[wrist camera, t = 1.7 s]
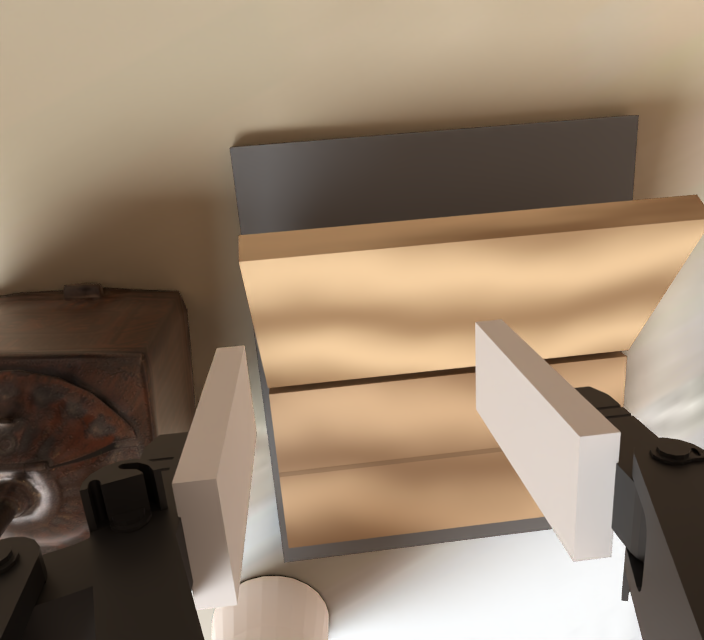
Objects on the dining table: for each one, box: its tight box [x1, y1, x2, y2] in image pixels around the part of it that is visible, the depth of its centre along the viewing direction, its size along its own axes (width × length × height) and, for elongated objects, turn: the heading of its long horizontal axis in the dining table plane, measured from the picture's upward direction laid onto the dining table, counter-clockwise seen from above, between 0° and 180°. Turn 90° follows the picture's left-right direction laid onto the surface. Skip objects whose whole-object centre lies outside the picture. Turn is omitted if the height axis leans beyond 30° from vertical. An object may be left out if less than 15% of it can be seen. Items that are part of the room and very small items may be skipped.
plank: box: [239, 195, 704, 388], centre depth 30 cm, size 10×20×2 cm
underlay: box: [230, 115, 639, 562], centre depth 35 cm, size 25×21×1 cm
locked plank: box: [269, 351, 627, 548], centre depth 36 cm, size 10×20×2 cm, turn 94°
